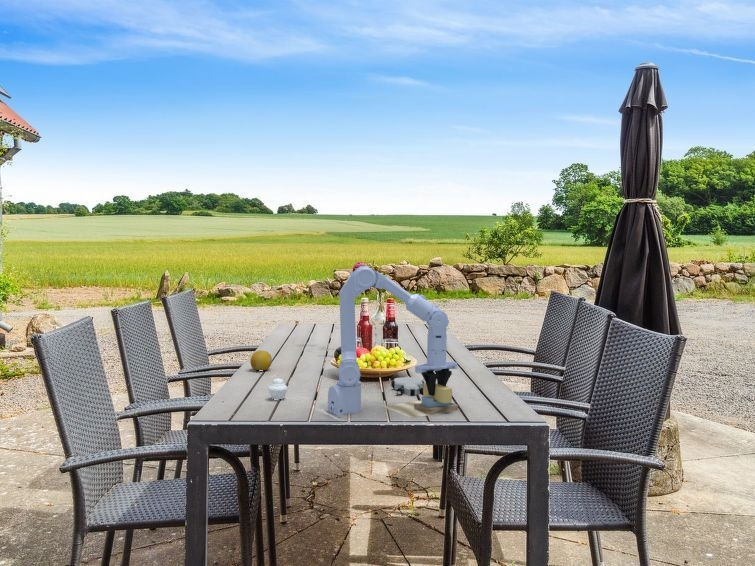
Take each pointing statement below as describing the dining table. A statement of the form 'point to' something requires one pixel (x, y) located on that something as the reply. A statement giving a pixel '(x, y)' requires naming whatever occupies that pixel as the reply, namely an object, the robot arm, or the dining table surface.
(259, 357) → the fruit
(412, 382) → the robot toy
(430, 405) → the blue notched block
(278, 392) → the white lidded jar
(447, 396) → the yellow rectangular block
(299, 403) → the dining table surface
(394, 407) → the jig
